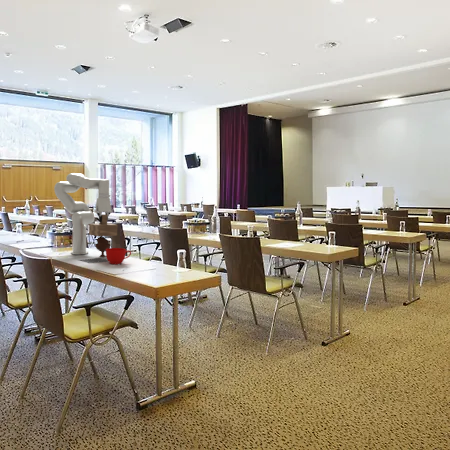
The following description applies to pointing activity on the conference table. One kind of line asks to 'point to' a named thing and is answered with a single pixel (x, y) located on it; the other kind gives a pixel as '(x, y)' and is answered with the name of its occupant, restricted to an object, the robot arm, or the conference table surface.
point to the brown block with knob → (103, 228)
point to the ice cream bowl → (102, 245)
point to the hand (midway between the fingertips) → (103, 221)
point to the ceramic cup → (116, 255)
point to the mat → (94, 260)
